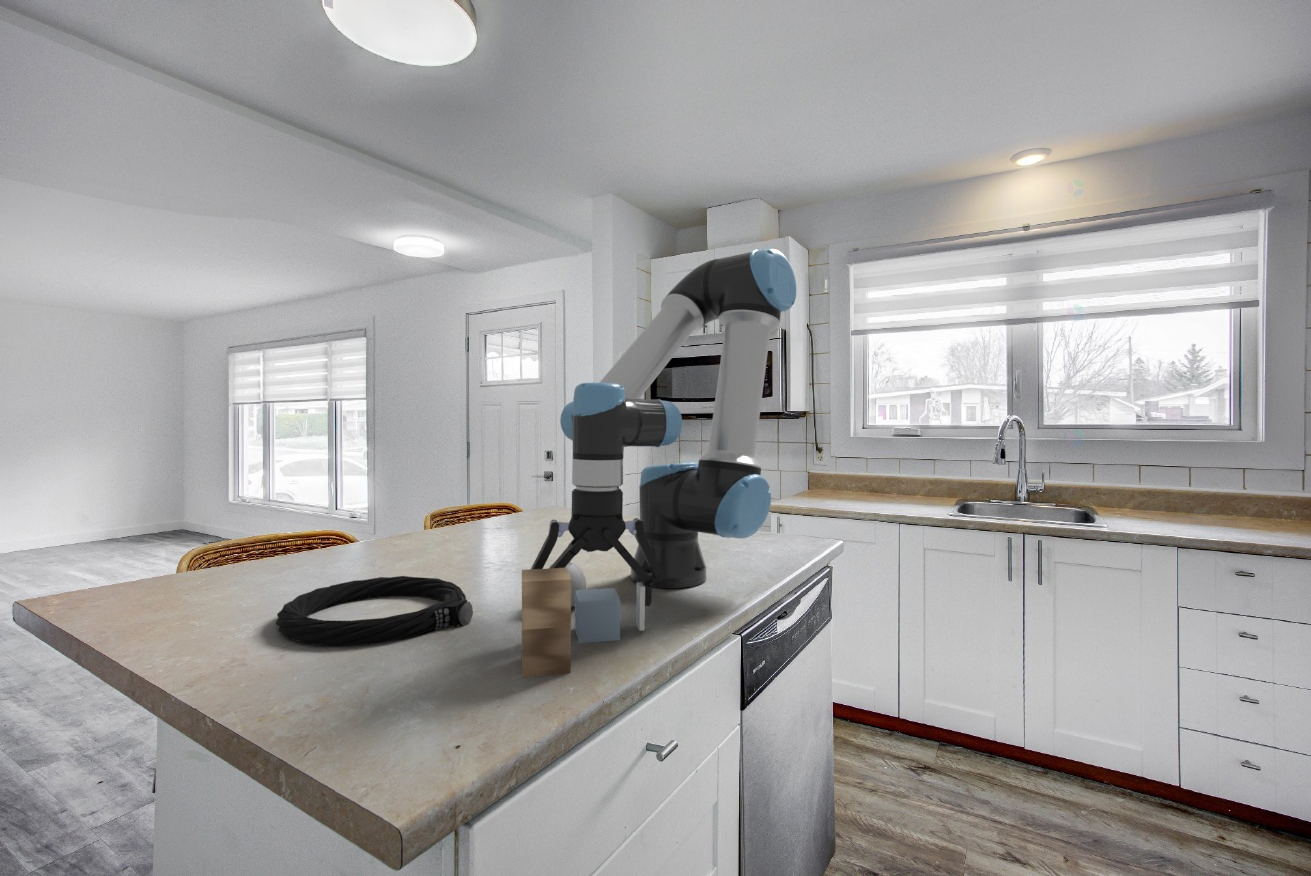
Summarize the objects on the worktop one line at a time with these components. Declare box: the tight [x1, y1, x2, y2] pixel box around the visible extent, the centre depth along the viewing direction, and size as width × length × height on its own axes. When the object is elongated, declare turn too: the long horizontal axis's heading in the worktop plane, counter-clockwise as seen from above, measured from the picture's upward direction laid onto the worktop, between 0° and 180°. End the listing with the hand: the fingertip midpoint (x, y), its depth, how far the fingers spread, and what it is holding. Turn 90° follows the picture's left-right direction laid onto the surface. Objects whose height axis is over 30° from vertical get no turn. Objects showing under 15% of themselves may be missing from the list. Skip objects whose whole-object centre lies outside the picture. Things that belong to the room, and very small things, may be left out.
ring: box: [274, 575, 474, 647], centre depth 98 cm, size 28×4×30 cm
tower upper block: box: [521, 568, 572, 631], centre depth 79 cm, size 6×6×6 cm
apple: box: [547, 561, 587, 608], centre depth 103 cm, size 8×8×8 cm
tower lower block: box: [521, 626, 572, 678], centre depth 79 cm, size 6×6×6 cm
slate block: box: [574, 587, 621, 644], centre depth 91 cm, size 6×6×6 cm
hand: (595, 630), depth 90 cm, fingers open, 13 cm apart
